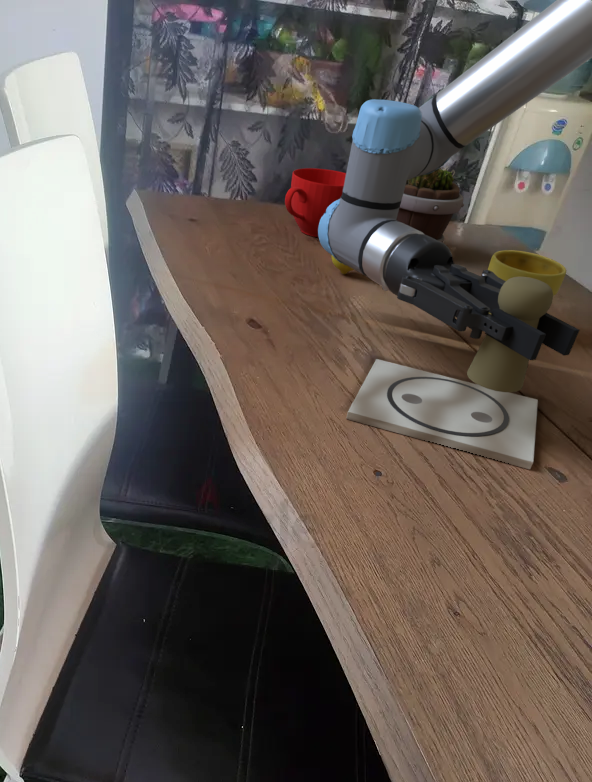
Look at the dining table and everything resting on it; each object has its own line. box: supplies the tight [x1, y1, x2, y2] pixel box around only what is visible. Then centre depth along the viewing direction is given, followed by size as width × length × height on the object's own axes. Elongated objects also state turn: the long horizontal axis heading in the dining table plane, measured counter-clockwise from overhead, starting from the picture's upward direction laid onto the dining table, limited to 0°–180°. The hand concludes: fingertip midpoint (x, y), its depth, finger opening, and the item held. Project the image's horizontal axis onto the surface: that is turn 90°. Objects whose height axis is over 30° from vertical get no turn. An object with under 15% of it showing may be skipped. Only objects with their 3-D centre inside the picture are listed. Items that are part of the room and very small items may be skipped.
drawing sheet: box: [346, 358, 539, 470], centre depth 85 cm, size 20×16×1 cm
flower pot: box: [487, 249, 567, 314], centre depth 108 cm, size 10×10×10 cm
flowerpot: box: [396, 166, 465, 244], centre depth 133 cm, size 14×15×20 cm
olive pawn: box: [466, 277, 554, 393], centre depth 77 cm, size 6×6×11 cm
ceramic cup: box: [284, 167, 346, 238], centre depth 137 cm, size 13×17×10 cm
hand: (554, 344), depth 73 cm, fingers closed on olive pawn, 4 cm apart
